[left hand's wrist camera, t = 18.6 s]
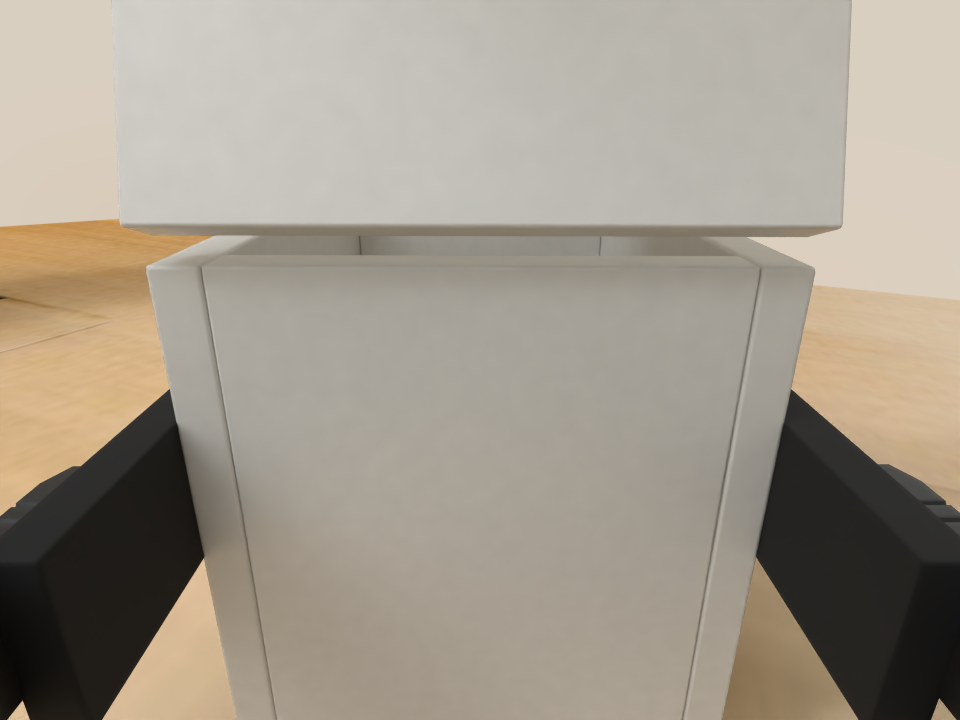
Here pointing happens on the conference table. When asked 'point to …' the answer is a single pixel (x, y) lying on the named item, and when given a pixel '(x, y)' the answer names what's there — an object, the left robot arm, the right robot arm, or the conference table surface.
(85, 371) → the conference table surface
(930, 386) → the conference table surface
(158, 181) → the lid
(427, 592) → the chest
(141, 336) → the conference table surface
